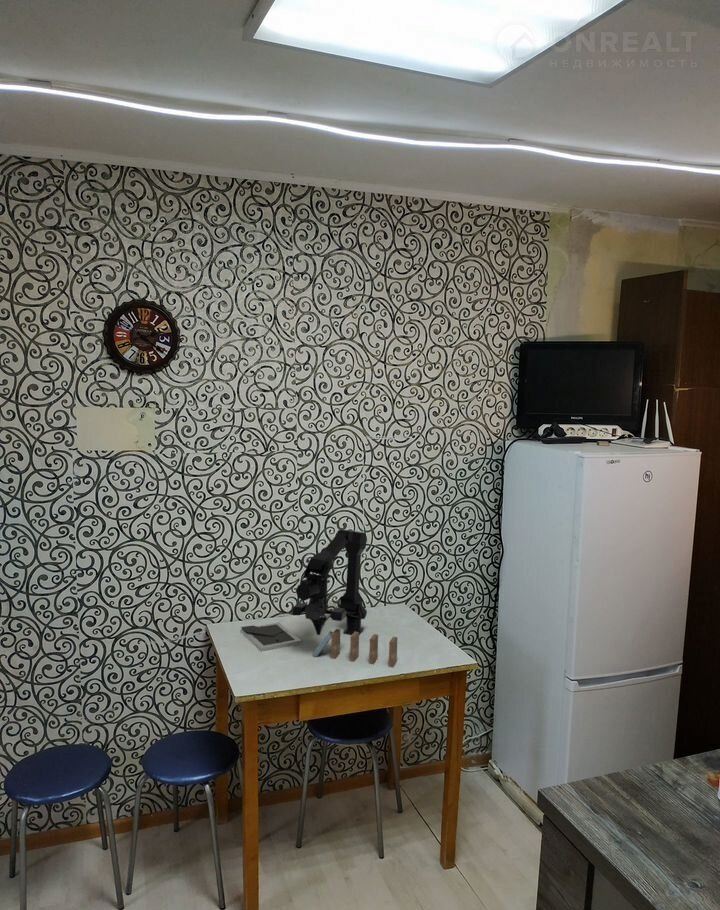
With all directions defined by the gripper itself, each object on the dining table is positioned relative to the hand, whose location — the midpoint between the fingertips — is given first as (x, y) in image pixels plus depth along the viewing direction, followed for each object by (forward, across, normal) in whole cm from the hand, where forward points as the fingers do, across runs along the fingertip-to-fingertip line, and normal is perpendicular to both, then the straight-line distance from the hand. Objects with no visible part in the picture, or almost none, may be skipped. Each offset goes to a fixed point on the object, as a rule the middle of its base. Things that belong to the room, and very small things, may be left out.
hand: (318, 634), depth 252 cm
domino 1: (+6, 0, -1) cm, 7 cm away
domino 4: (+7, +20, 0) cm, 22 cm away
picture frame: (+8, -22, +7) cm, 25 cm away
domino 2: (+7, +6, 0) cm, 10 cm away
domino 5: (+7, +28, 0) cm, 28 cm away
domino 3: (+7, +14, 0) cm, 15 cm away
